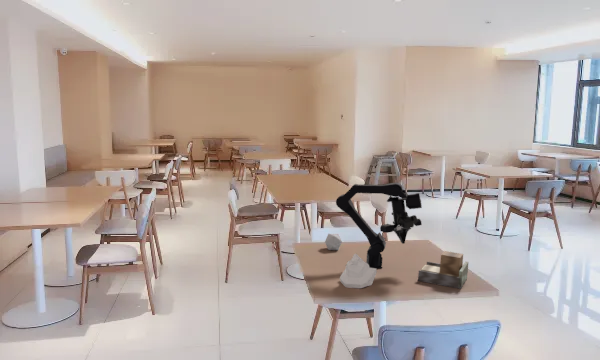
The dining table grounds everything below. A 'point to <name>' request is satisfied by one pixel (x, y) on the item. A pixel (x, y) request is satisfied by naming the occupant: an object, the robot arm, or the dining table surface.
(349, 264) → the white faceted rock
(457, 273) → the walnut block
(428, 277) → the trap box
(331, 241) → the die
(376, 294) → the dining table surface
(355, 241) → the dining table surface
